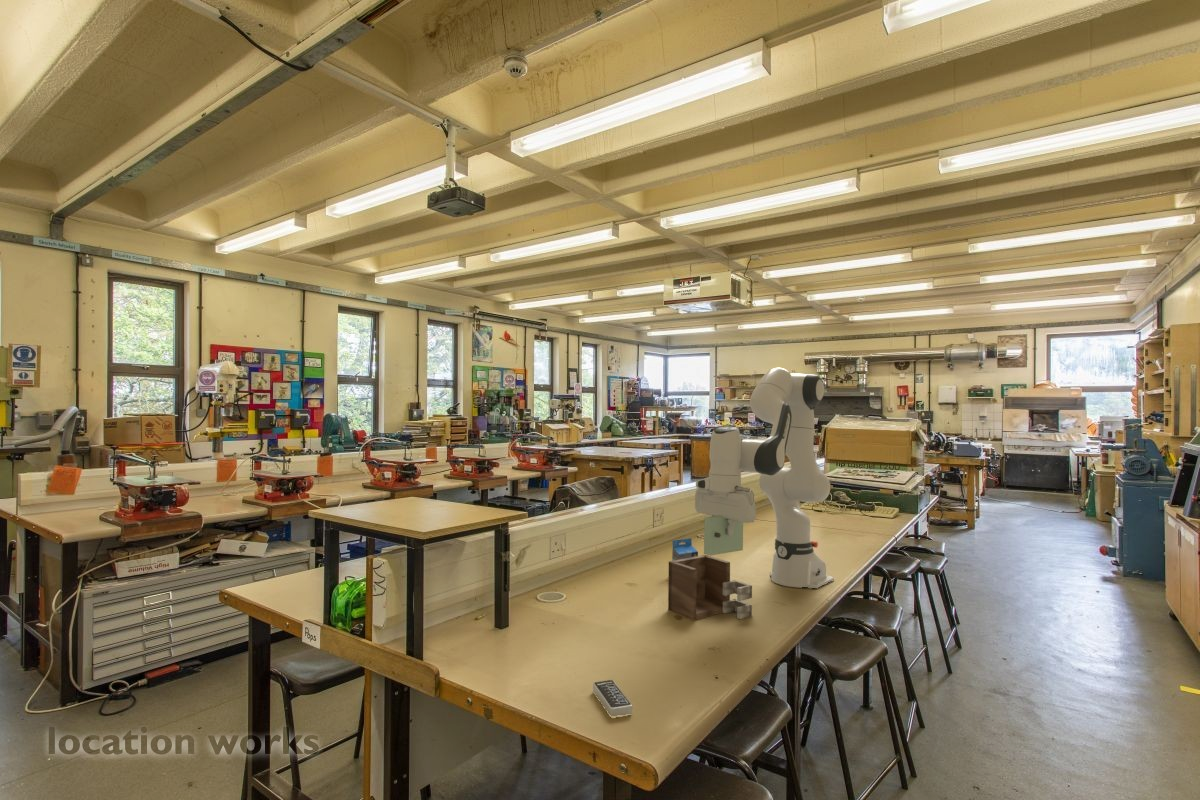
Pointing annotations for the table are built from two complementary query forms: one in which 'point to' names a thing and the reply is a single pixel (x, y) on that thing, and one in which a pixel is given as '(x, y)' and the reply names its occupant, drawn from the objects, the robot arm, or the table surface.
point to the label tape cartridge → (683, 549)
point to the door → (721, 536)
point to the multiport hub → (612, 698)
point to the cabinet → (705, 588)
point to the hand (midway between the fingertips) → (724, 533)
